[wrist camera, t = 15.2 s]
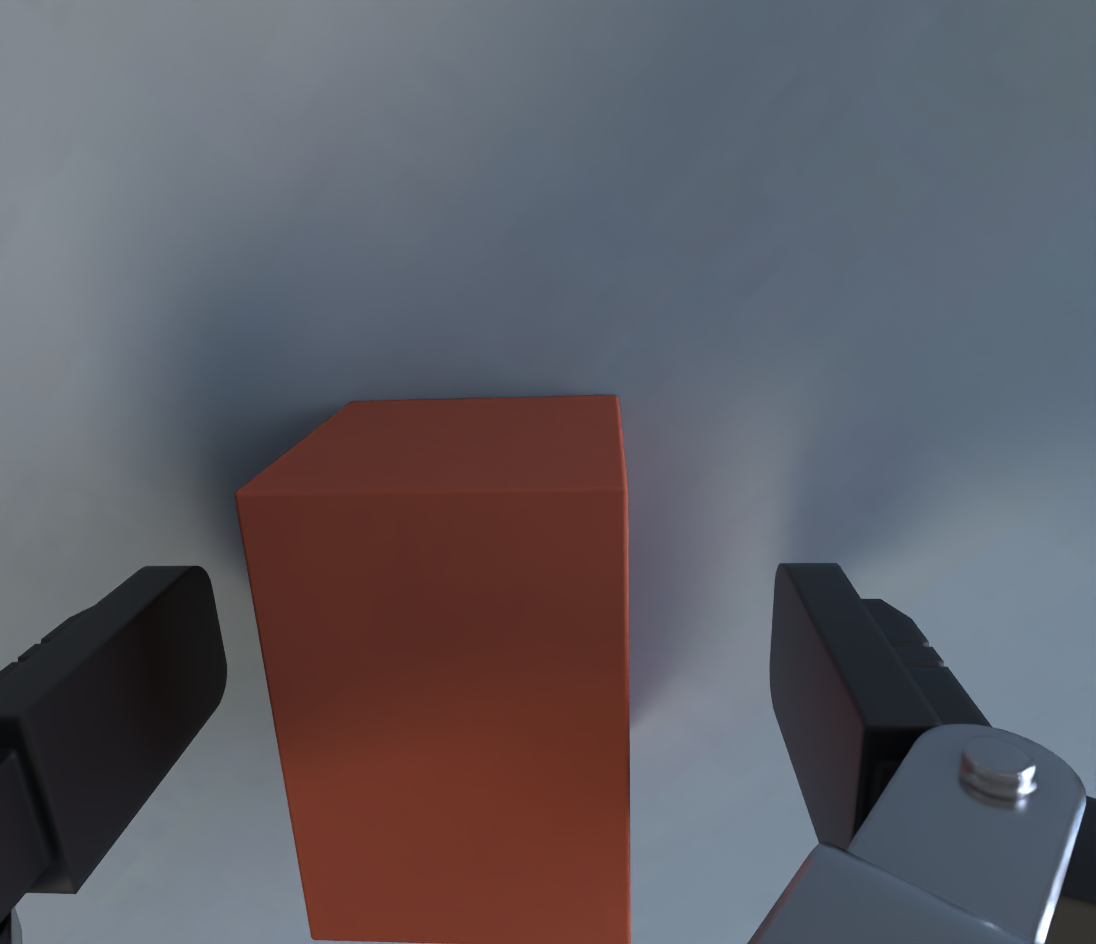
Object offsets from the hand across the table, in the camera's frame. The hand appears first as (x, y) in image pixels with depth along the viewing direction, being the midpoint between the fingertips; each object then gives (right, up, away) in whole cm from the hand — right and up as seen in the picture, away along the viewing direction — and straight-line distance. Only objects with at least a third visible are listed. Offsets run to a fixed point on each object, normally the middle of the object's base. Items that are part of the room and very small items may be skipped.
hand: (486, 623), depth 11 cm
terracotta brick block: (0, 0, +2) cm, 2 cm away
